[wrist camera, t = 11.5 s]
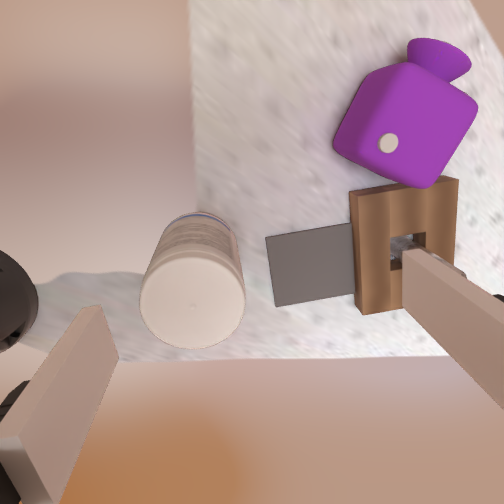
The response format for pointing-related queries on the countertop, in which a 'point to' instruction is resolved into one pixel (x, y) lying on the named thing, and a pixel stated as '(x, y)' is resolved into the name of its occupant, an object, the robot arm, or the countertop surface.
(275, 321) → the countertop surface
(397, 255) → the peg
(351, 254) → the mat
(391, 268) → the socket block
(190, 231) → the supplement tub
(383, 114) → the toy camera
